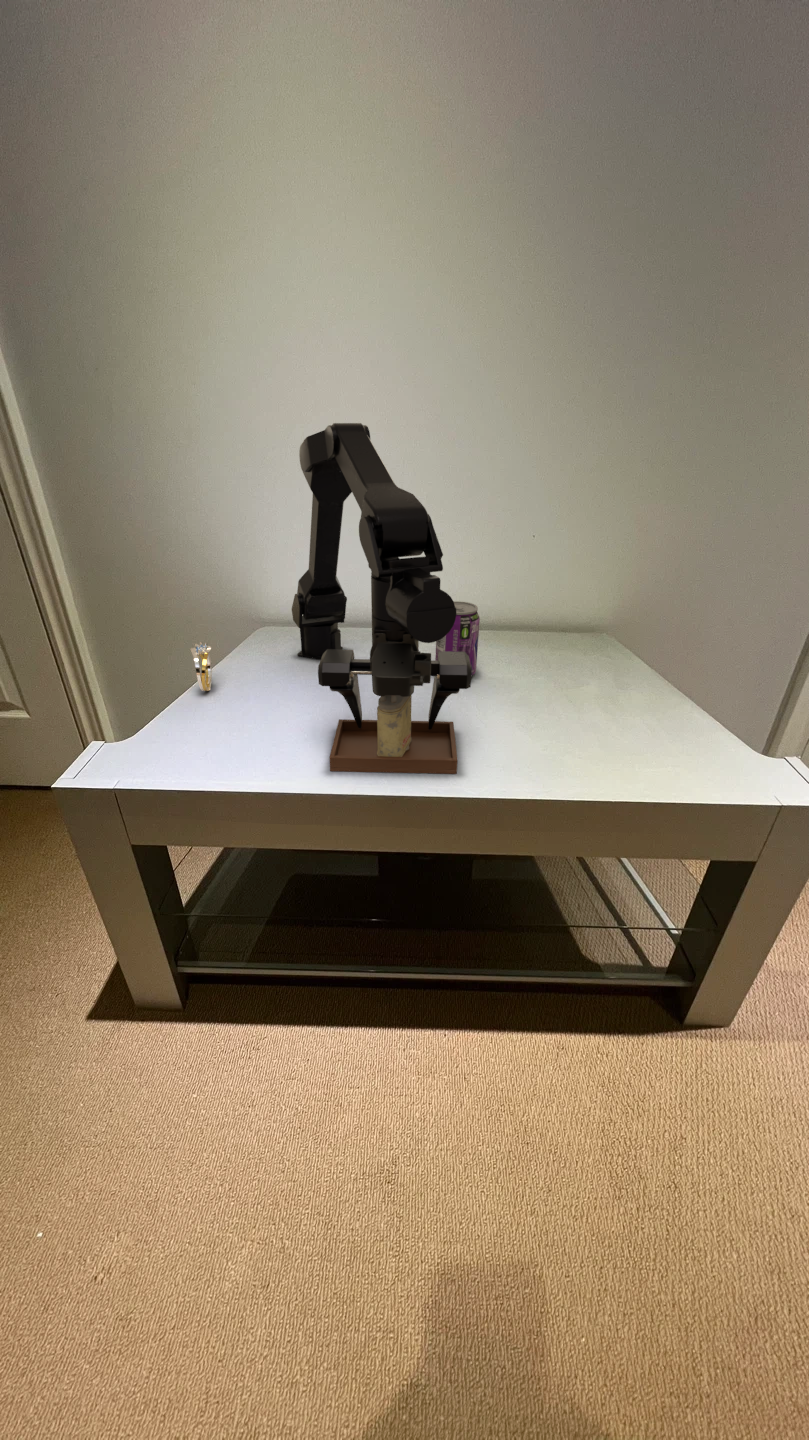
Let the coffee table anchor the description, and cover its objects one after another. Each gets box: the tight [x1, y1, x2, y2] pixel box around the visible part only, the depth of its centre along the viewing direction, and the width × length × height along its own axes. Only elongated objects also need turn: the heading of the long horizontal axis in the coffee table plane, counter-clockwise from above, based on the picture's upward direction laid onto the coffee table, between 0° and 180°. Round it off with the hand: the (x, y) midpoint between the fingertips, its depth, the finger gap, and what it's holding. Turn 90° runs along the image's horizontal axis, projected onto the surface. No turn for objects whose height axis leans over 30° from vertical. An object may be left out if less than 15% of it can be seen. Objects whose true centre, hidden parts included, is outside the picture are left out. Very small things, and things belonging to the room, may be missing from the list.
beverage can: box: [434, 600, 481, 677], centre depth 100 cm, size 7×7×12 cm
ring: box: [190, 641, 213, 692], centre depth 94 cm, size 7×3×8 cm, turn 5°
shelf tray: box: [329, 718, 458, 775], centre depth 80 cm, size 16×10×2 cm, turn 89°
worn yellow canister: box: [376, 695, 413, 757], centre depth 78 cm, size 7×4×10 cm, turn 163°
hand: (395, 727), depth 78 cm, fingers open, 9 cm apart
